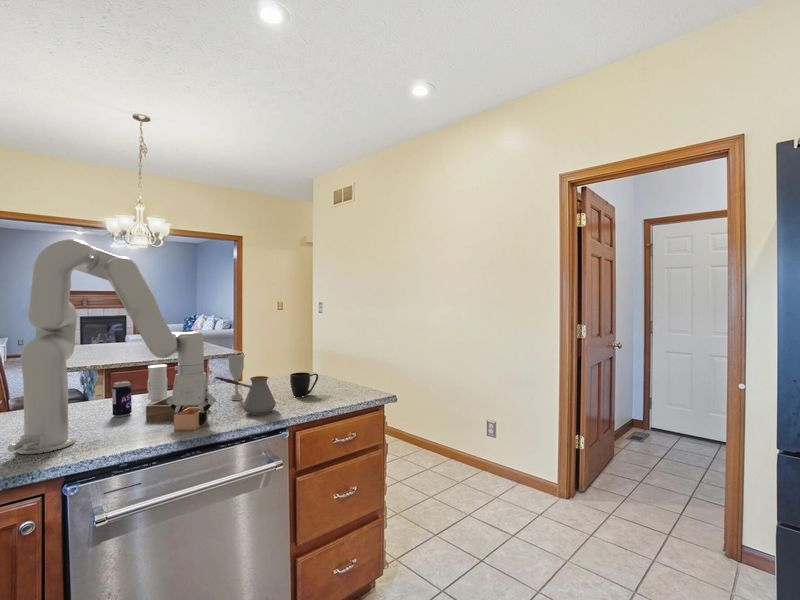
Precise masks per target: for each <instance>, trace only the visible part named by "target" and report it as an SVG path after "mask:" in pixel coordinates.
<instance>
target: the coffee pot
mask: <svg viewBox="0 0 800 600" xmlns="http://www.w3.org/2000/svg"><path fill="white" fill-rule="evenodd" d="M268 379H269V376H267V375H258V376H252V377H250V378H249V380H250V381H251V385H250V384H245V383H242V382H239V381H238V382H236V381H235V380H233V379H230V378H224V377H220V376H215V377H214V378H213V381H212V382H213V383H215V382H216V381H217V380H219V381H221V382H222V381H223V382H225V383H227V384H233V385H235V384H236V385H238V386H242V387H244V388H245V387H246V388H248V389H249V390H248V393H247V395H246V397H245V400H244V403H243V405H242V408H243V410H244V411H245V412H246V413H248V415H250V416H263V415H268V414H270V413H271V412H270V411H273V410H274V409H275V407H276V405H277V403H276V401H275V398H274V396H273V394H272V392H271V389H270V388H269V385H268Z"/></svg>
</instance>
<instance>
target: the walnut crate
mask: <svg viewBox="0 0 800 600" xmlns="http://www.w3.org/2000/svg"><path fill="white" fill-rule="evenodd" d="M171 396H172V395H169V396H167V398H164V399H162V400H160V401H157V402H155V403H152V404H150V403H149V404H148V405H146V406H145V420H159V421H174V415H175V414H176V413H175V412H174V410H173V409H172V408H171V406H170V405H169V404H168V403H167V400H168V399H169V398H170V397H171ZM208 403H209V400H208V401H207V402H206V405H207V404H208ZM196 407H198V405H197V406H184V407H183V410H185V409H187V408H196Z"/></svg>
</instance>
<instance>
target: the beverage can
mask: <svg viewBox="0 0 800 600" xmlns="http://www.w3.org/2000/svg"><path fill="white" fill-rule="evenodd" d="M112 385H113V386H112V389H111V390H112V391H111V392H112V399H111V401H112V405H111V406H112V416H114V417H115V418H124V417H123V416H125V417H128V416H129V415H130V414H131V413H132V410H133V409H132V402H133V401H132V384H131V382H130V381H129V380H124V381H123V380H122V381H116V382H113V384H112ZM127 415H128V416H127Z"/></svg>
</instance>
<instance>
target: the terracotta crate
mask: <svg viewBox="0 0 800 600" xmlns="http://www.w3.org/2000/svg"><path fill="white" fill-rule="evenodd" d="M199 413H201V411H200V409H199V407H196V408H187V409H185V410H183V411H181V412H179V413H177V414H175V415H174V420H173V431H174V432H177V431H178V432H179V431H181V432H188V431H189V432H190V431H196V430H198V429H200V428H202V427H203V426H204V425H206V424H208V423H209V409H208V410H207V420H206V423H204V424H203V425H199Z"/></svg>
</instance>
